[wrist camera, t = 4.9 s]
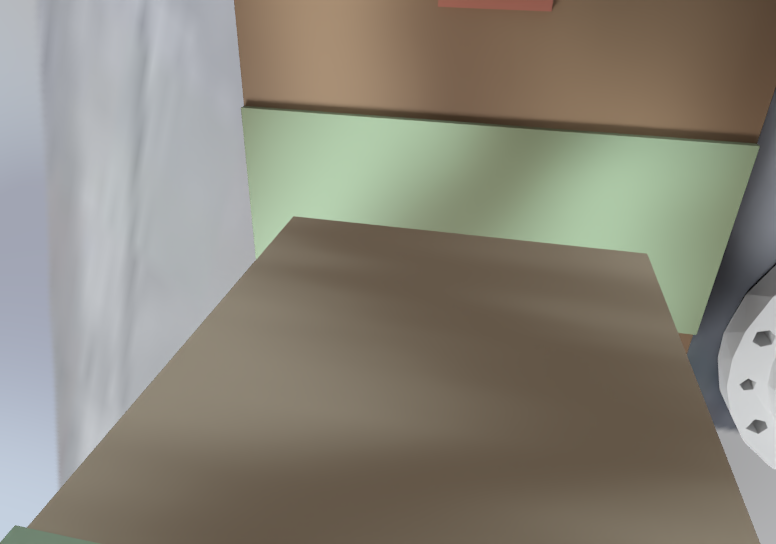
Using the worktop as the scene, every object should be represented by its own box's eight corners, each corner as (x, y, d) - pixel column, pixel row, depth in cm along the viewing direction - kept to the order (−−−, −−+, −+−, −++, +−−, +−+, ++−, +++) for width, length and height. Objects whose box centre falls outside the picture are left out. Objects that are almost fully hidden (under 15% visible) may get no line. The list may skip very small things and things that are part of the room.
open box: (762, -40, 14) (846, -34, 10) (643, 366, 20) (669, 460, 16) (277, -53, 16) (204, -52, 12) (300, 320, 22) (255, 395, 18)
